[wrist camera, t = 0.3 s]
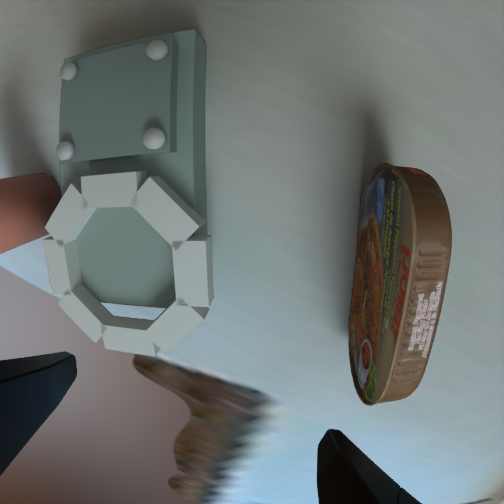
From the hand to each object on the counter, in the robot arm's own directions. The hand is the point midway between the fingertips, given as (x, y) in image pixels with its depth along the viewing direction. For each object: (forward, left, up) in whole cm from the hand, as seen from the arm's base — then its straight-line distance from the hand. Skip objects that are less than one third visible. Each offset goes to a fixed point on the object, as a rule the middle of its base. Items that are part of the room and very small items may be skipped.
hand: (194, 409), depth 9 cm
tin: (0, +9, -14) cm, 17 cm away
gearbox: (-6, -8, -14) cm, 17 cm away
